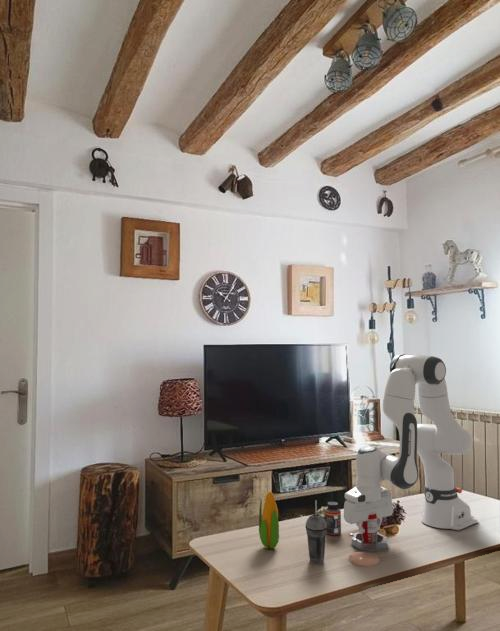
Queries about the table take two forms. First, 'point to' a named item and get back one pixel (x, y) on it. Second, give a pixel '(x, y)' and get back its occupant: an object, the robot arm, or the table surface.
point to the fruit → (322, 511)
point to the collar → (369, 546)
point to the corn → (269, 522)
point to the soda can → (370, 529)
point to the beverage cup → (316, 537)
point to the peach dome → (364, 559)
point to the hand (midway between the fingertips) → (369, 531)
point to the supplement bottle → (333, 519)
